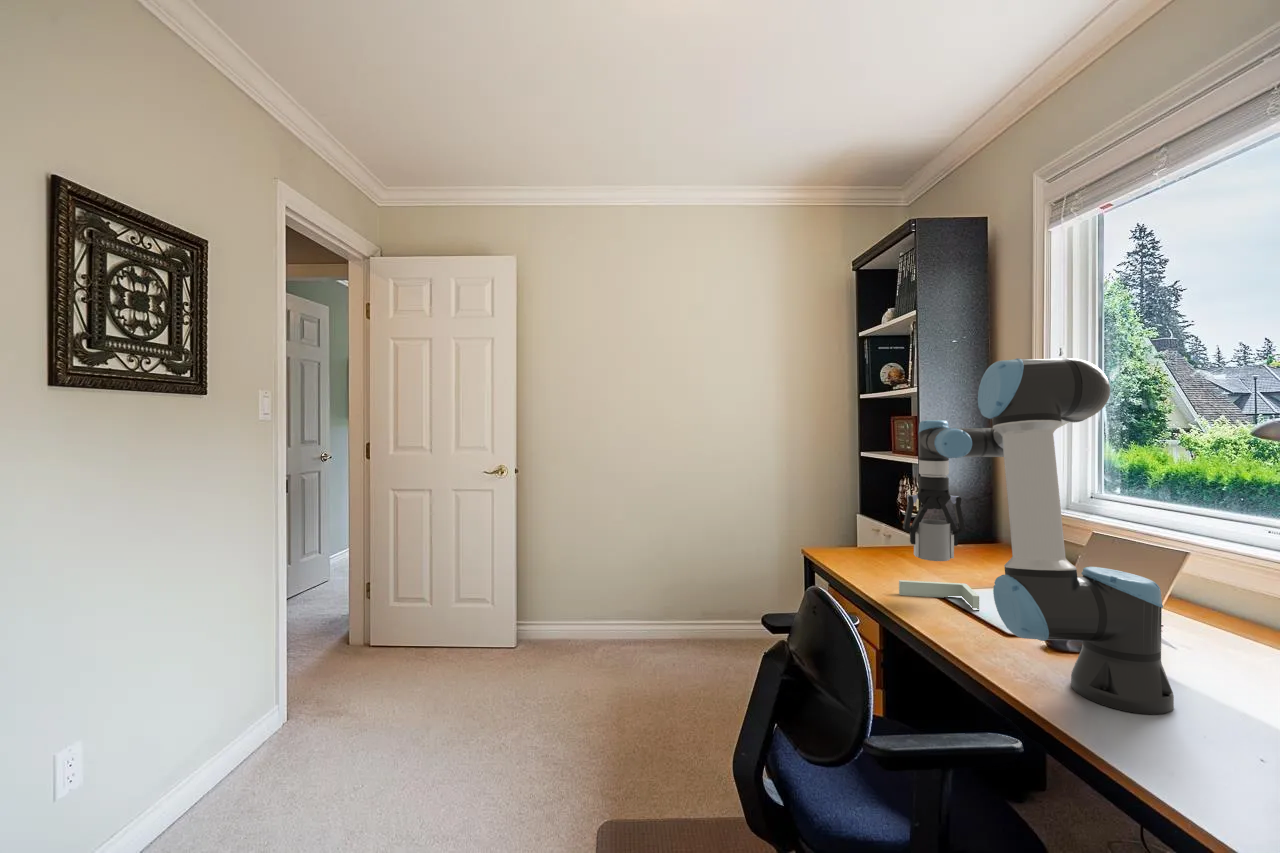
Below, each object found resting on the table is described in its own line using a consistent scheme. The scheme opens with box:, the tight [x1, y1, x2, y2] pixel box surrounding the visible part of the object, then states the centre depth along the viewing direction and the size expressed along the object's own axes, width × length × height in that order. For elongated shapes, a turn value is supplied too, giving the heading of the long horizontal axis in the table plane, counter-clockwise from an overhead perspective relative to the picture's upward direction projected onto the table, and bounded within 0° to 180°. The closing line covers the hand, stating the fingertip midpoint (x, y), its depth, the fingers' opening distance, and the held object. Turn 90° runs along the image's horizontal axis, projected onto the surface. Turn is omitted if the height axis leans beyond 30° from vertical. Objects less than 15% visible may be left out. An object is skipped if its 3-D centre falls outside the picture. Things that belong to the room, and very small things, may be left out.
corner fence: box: [898, 579, 980, 610], centre depth 171 cm, size 12×18×4 cm
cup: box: [916, 518, 952, 562], centre depth 169 cm, size 8×8×10 cm
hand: (933, 556), depth 169 cm, fingers closed on cup, 8 cm apart
